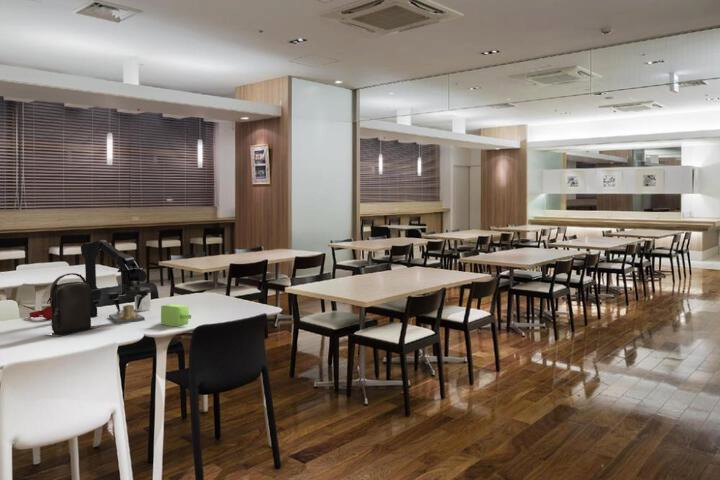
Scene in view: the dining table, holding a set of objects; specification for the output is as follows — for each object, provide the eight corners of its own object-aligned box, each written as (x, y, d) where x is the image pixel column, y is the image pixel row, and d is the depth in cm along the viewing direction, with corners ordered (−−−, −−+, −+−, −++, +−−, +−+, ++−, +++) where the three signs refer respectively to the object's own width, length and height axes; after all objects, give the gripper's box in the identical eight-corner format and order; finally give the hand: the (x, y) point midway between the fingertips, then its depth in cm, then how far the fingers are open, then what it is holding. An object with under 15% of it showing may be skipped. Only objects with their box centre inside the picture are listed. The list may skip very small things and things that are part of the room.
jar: (138, 312, 318) (137, 290, 317) (132, 309, 324) (131, 288, 323) (154, 309, 324) (153, 288, 323) (147, 307, 330) (147, 286, 329)
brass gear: (121, 320, 291) (121, 308, 290) (116, 317, 298) (116, 305, 298) (140, 317, 297) (139, 306, 296) (135, 314, 304) (134, 303, 303)
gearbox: (197, 325, 288) (197, 306, 288) (182, 328, 280) (182, 308, 279) (172, 320, 297) (172, 302, 297) (156, 323, 289) (157, 304, 288)
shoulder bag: (89, 325, 287) (87, 269, 285) (100, 327, 282) (98, 270, 280) (44, 335, 268) (41, 275, 266) (55, 337, 263) (52, 277, 261)
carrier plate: (118, 323, 290) (117, 313, 289) (109, 317, 304) (108, 307, 304) (144, 320, 297) (144, 309, 297) (134, 314, 312) (134, 304, 311)
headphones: (73, 315, 309) (49, 317, 318) (72, 302, 309) (48, 304, 318) (48, 321, 296) (24, 322, 305) (46, 307, 296) (22, 309, 305)
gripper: (112, 284, 284) (113, 315, 285) (150, 280, 295) (151, 310, 296) (106, 281, 293) (107, 312, 294) (143, 278, 304) (145, 307, 305)
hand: (128, 310), depth 297 cm, fingers open, 9 cm apart
